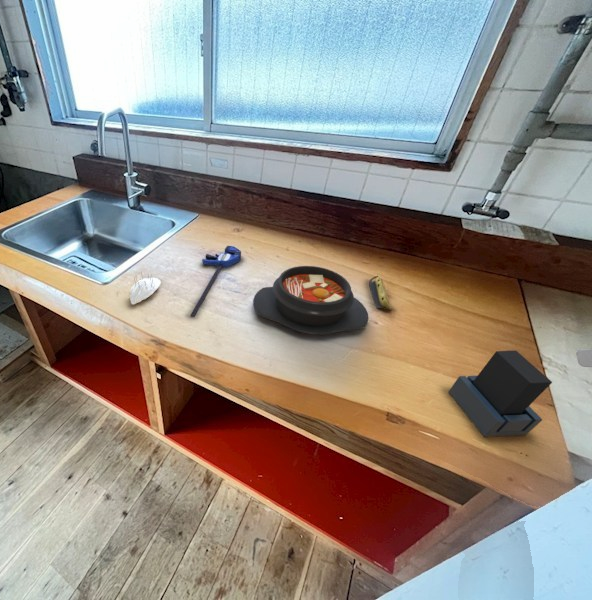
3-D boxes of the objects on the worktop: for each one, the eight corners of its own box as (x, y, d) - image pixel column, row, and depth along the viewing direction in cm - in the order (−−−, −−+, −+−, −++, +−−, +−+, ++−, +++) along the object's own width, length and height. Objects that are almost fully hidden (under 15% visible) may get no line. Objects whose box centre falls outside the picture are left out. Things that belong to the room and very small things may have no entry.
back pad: (511, 423, 49) (552, 382, 43) (491, 424, 49) (530, 383, 43) (482, 391, 54) (516, 350, 48) (464, 392, 54) (496, 351, 48)
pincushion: (148, 278, 88) (146, 260, 85) (167, 283, 86) (166, 265, 83) (122, 302, 80) (118, 283, 77) (143, 308, 78) (140, 289, 74)
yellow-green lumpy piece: (371, 284, 85) (383, 279, 83) (379, 317, 74) (393, 312, 73) (365, 275, 84) (377, 270, 82) (372, 307, 73) (386, 301, 72)
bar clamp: (211, 242, 99) (243, 246, 96) (211, 249, 100) (243, 254, 97) (169, 306, 76) (209, 315, 73) (170, 314, 77) (209, 323, 74)
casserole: (248, 332, 70) (251, 301, 65) (256, 284, 84) (259, 256, 79) (373, 349, 64) (387, 317, 59) (358, 295, 79) (369, 266, 74)
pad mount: (526, 435, 49) (543, 419, 47) (484, 437, 49) (498, 421, 47) (484, 390, 56) (497, 374, 53) (448, 391, 56) (459, 375, 53)
